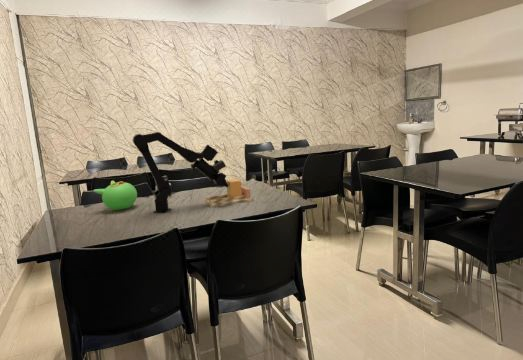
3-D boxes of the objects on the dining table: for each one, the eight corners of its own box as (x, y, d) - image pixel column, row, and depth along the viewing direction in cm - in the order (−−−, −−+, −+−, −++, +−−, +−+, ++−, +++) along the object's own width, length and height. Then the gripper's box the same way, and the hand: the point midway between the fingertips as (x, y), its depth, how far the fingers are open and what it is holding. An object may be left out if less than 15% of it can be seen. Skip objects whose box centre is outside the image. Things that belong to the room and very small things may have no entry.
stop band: (246, 198, 190) (246, 189, 189) (239, 194, 201) (238, 185, 200) (250, 198, 191) (249, 189, 190) (242, 194, 202) (241, 185, 201)
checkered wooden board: (211, 207, 182) (211, 201, 182) (204, 201, 195) (204, 196, 195) (252, 200, 191) (252, 195, 190) (243, 195, 203) (242, 190, 203)
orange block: (231, 199, 190) (229, 182, 188) (227, 197, 196) (226, 180, 194) (241, 197, 192) (240, 180, 191) (238, 195, 198) (237, 179, 196)
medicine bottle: (169, 198, 208) (166, 177, 205) (156, 198, 208) (154, 178, 205) (172, 195, 215) (170, 175, 212) (160, 195, 215) (158, 175, 212)
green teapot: (125, 213, 179) (121, 184, 177) (95, 213, 183) (90, 185, 180) (144, 204, 197) (141, 177, 194) (116, 204, 200) (112, 177, 197)
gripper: (220, 157, 178) (243, 177, 184) (210, 154, 195) (231, 172, 201) (206, 175, 176) (229, 194, 183) (197, 170, 193) (219, 188, 200)
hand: (227, 186), depth 192 cm, fingers closed, pressing on orange block
